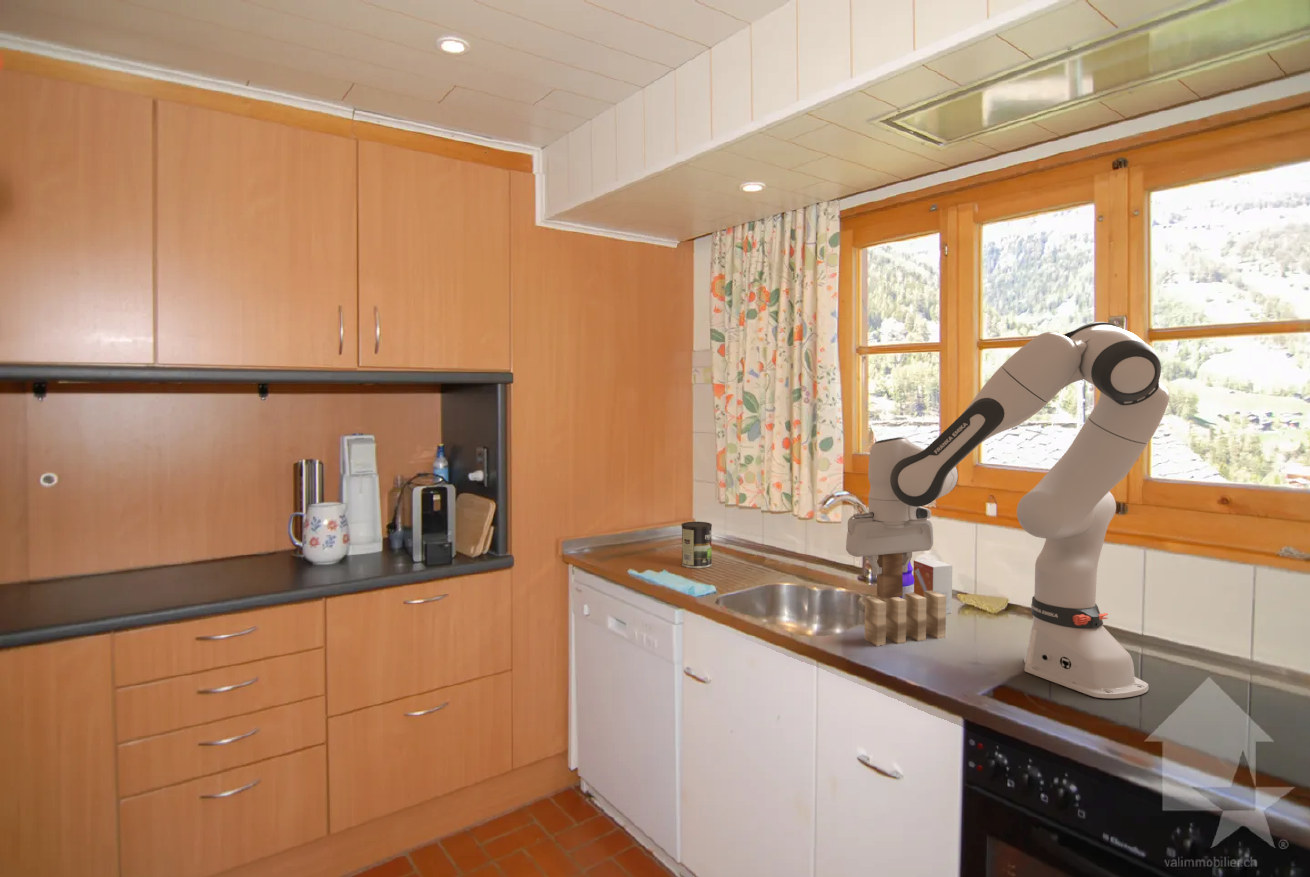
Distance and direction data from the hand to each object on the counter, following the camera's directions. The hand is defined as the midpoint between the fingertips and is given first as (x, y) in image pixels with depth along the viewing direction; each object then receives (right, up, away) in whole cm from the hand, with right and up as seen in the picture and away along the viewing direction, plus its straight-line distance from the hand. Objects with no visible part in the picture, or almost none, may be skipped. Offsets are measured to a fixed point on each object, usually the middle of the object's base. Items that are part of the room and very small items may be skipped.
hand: (889, 573), depth 153 cm
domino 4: (+10, -17, +11) cm, 23 cm away
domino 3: (+5, -18, +10) cm, 21 cm away
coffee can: (-38, -14, +83) cm, 92 cm away
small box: (+22, -16, +32) cm, 42 cm away
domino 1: (-1, -18, +8) cm, 20 cm away
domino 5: (+15, -17, +13) cm, 26 cm away
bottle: (+11, -17, +25) cm, 33 cm away
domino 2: (0, -5, 0) cm, 5 cm away
